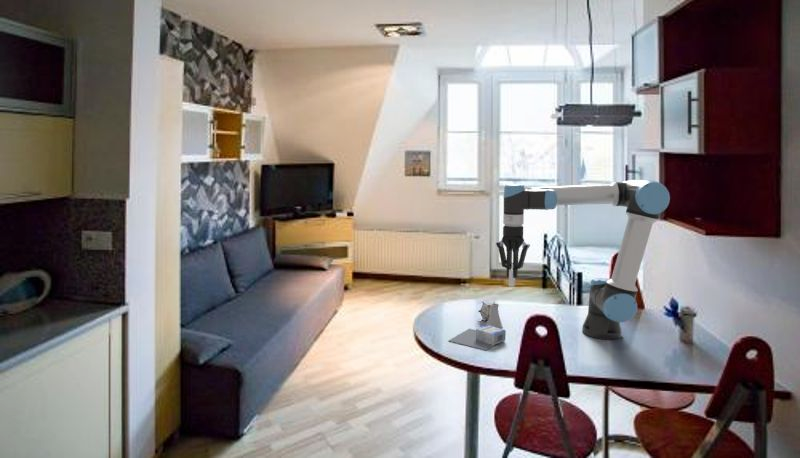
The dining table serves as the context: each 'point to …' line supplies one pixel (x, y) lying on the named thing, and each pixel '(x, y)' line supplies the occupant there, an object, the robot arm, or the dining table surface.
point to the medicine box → (490, 335)
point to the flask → (494, 317)
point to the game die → (485, 310)
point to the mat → (470, 340)
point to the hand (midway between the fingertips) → (511, 285)
